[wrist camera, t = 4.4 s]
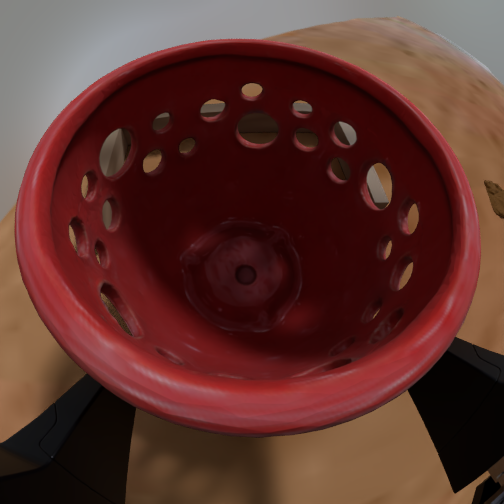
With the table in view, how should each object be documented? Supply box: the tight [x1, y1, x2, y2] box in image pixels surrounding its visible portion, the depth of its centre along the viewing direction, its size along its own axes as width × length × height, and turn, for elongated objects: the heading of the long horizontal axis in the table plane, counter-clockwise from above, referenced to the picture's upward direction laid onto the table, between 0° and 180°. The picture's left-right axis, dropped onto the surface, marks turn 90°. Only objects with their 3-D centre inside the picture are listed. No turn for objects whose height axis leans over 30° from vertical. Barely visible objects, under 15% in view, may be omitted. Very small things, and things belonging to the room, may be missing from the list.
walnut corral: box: [100, 103, 389, 229], centre depth 19 cm, size 11×20×2 cm, turn 97°
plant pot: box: [15, 39, 481, 438], centre depth 11 cm, size 13×13×12 cm
